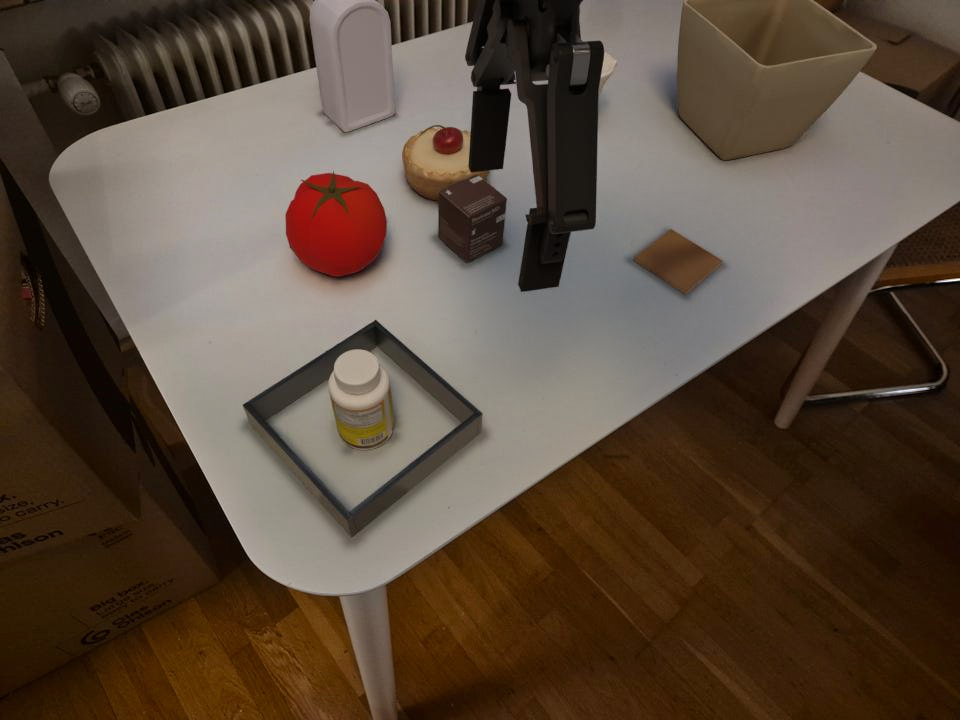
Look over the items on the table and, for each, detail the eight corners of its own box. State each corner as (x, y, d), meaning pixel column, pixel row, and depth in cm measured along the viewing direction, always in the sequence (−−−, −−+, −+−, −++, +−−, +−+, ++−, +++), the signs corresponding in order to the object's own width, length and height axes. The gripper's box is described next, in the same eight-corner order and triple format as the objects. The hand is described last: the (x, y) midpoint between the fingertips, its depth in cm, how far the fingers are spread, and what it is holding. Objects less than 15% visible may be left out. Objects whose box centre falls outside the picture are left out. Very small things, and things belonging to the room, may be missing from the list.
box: (466, 264, 82) (468, 217, 76) (436, 237, 84) (436, 190, 79) (503, 245, 84) (508, 198, 78) (474, 219, 87) (476, 172, 81)
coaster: (721, 264, 84) (723, 260, 84) (685, 294, 80) (687, 291, 80) (669, 232, 87) (671, 228, 87) (633, 260, 84) (634, 256, 83)
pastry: (502, 198, 90) (508, 141, 83) (419, 217, 87) (418, 159, 80) (469, 148, 96) (472, 91, 89) (391, 164, 93) (387, 106, 86)
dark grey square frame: (480, 432, 67) (483, 413, 64) (351, 537, 59) (347, 521, 57) (378, 340, 73) (375, 319, 71) (250, 424, 66) (242, 404, 63)
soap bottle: (346, 136, 97) (325, -34, 79) (322, 113, 100) (297, -55, 82) (398, 118, 100) (390, -50, 82) (374, 96, 104) (361, -69, 86)
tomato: (282, 239, 83) (264, 163, 74) (371, 218, 86) (364, 142, 77) (308, 305, 76) (292, 230, 67) (403, 279, 79) (399, 204, 71)
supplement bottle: (360, 396, 69) (350, 332, 61) (405, 421, 67) (401, 358, 59) (326, 436, 66) (310, 373, 58) (372, 462, 64) (363, 402, 56)
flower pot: (823, 156, 100) (882, 45, 87) (717, 180, 95) (763, 66, 82) (748, 91, 111) (790, -17, 97) (649, 109, 106) (680, -2, 92)
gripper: (426, -185, 40) (425, 132, 56) (567, 2, 25) (509, 357, 41) (544, -183, 41) (509, 124, 58) (743, -7, 27) (620, 338, 43)
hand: (509, 222), depth 50 cm, fingers open, 13 cm apart
